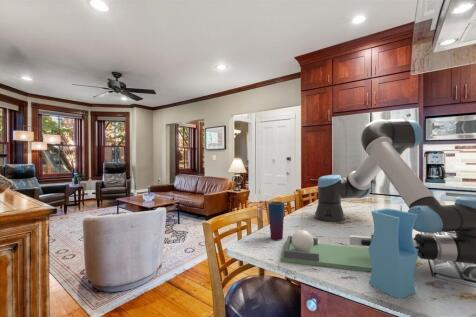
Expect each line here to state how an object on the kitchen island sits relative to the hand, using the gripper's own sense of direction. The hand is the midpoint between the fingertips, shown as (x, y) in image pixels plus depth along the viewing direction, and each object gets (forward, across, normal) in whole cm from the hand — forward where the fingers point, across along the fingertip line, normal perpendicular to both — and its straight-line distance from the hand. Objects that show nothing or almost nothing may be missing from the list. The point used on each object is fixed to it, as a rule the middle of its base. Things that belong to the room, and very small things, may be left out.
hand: (349, 239), depth 80 cm
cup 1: (+27, +13, -7) cm, 30 cm away
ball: (+15, -1, -1) cm, 16 cm away
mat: (+5, 0, -6) cm, 8 cm away
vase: (-8, -16, -7) cm, 19 cm away
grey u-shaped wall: (+15, 0, -5) cm, 16 cm away
